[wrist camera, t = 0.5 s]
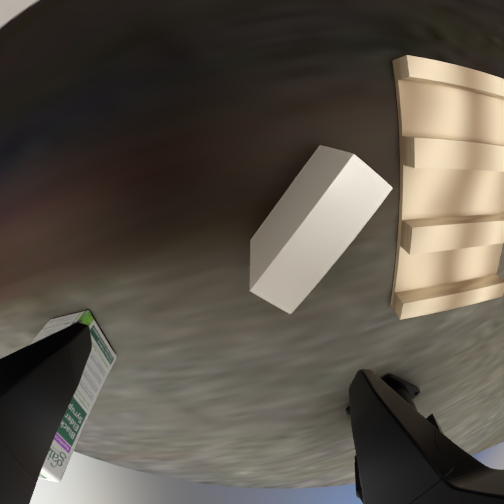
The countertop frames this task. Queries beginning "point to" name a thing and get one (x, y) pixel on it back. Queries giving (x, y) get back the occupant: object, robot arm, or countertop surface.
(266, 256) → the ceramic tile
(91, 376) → the syrup box
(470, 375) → the countertop surface
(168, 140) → the countertop surface
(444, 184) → the slotted rack
